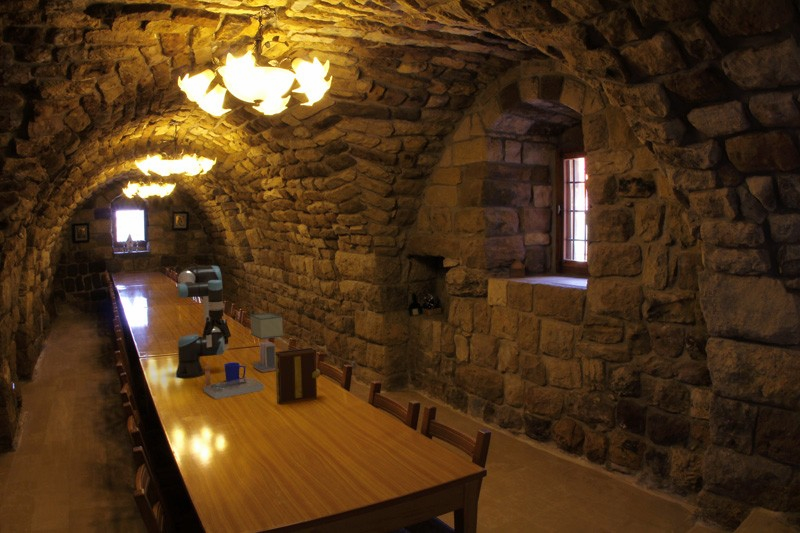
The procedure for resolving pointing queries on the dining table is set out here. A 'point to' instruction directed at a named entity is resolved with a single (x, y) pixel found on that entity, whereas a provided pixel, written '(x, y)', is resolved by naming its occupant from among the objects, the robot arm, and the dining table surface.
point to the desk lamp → (264, 329)
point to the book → (296, 375)
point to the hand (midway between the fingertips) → (217, 348)
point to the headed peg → (207, 374)
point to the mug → (233, 371)
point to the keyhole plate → (233, 388)
